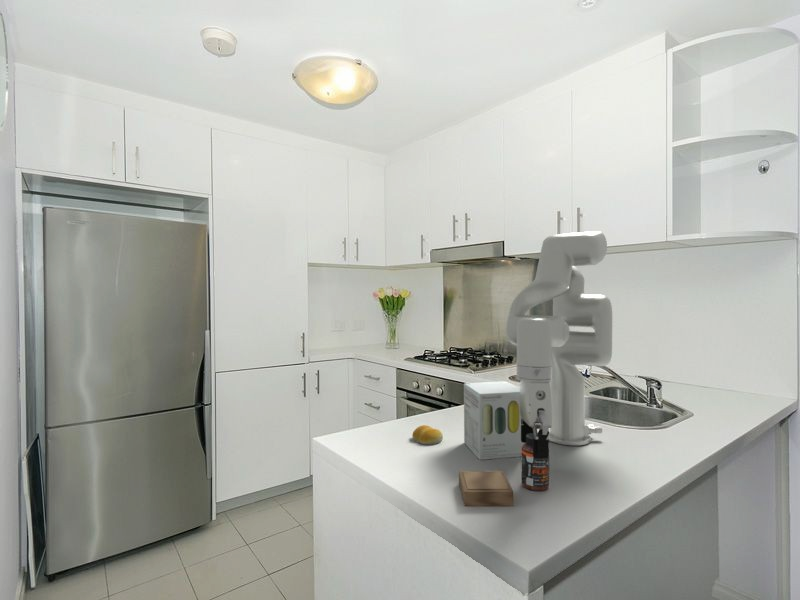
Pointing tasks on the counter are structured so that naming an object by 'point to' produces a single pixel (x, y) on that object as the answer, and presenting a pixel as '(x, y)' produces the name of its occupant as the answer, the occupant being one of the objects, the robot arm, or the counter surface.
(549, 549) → the counter surface
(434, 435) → the bread roll
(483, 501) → the walnut base
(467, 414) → the supplement box
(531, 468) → the supplement bottle
